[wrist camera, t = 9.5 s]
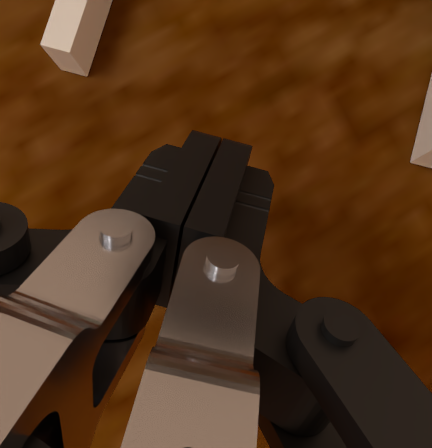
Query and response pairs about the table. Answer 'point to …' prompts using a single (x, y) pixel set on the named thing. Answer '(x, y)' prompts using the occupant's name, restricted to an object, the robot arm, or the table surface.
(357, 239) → the table surface
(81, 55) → the guide track
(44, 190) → the table surface
